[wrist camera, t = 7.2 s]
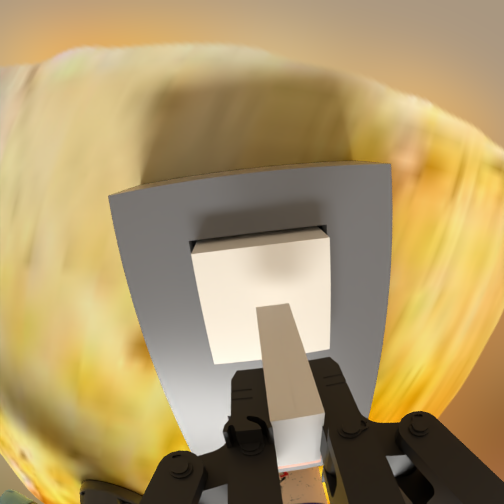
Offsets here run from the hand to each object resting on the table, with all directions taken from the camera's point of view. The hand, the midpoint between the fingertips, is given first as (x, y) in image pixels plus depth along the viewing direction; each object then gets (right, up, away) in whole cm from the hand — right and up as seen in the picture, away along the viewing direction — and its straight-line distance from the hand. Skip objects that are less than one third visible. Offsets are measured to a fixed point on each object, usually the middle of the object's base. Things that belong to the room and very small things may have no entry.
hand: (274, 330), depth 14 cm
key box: (0, -4, +12) cm, 12 cm away
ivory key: (0, +2, +6) cm, 6 cm away
